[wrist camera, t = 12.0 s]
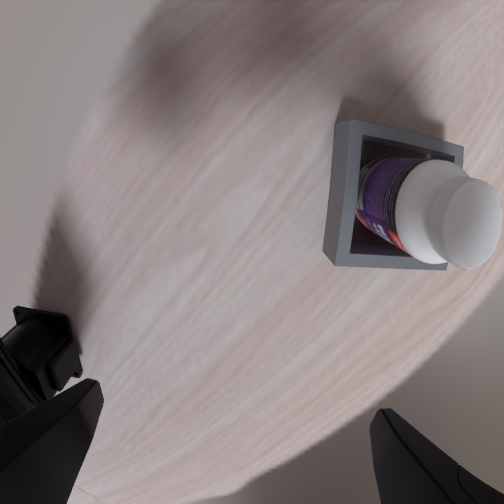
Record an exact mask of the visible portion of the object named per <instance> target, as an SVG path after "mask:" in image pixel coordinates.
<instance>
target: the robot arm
mask: <svg viewBox="0 0 504 504" xmlns="http://www.w3.org/2000/svg"><path fill="white" fill-rule="evenodd" d="M13 313H14V316H15V320H16V325H15V326H14V327H13V328H12V329H11V330H9V331H8V332H7V333H6V334H5V335H4V336H3V337H2V338H0V504H67V501H68V498H69V496H70V493H71V491H72V488H73V486H74V483H75V481H76V478H77V476H78V473H79V471H80V468H81V466H82V464H83V461H84V459H85V456H86V454H87V452H88V449H89V447H90V445H91V442H92V439H93V436H94V433H95V430H96V426H97V423H98V420H99V416H100V413H101V410H102V407H103V403H104V398H103V394H102V390H101V387H100V383H99V382H98V381H97V380H93V379H90V378H87V379H84V380H83V381H81V382H79V383H77V384H76V385H74V386H72V387H70V388H68V389H67V390H65V391H63V392H61V393H60V394H58V395H56V396H54V395H55V394H56V392H57V391H59V392H60V391H61V390H62V389H63V388H64V386H65V385H66V383H67V382H68V380H69V379H70V377H75V378H80V377H81V375H82V370H81V367H80V362H79V358H78V354H77V350H76V346H75V342H74V340H73V336H72V331H71V327H70V322H69V319H68V317H67V316H66V315H64V314H58V313H52V312H47V311H41V310H36V309H31V308H26V307H21V306H16V307H15V308H14V309H13ZM63 320H64V322H63ZM369 431H370V439H371V449H372V457H373V466H374V472H375V476H376V481H377V486H378V491H379V495H380V500H381V504H504V494H502V493H501V492H499V491H497V490H496V489H494V488H492V487H491V486H489V485H487V484H485V483H484V482H483V481H481V480H480V479H478V478H476V477H475V476H474V475H472V474H471V473H470V472H468V471H467V470H465V469H464V468H463V467H462V466H461V465H458V463H457V462H456V461H454V460H453V459H452V458H451V457H449V456H448V455H447V454H446V453H444V452H443V451H442V450H441V449H439V448H438V447H437V446H436V445H435V444H433V443H432V442H431V441H430V440H429V439H427V438H426V437H425V436H424V435H422V434H421V433H420V432H419V431H418V430H416V429H415V428H414V427H413V426H412V425H410V424H409V423H408V422H407V421H406V420H404V419H403V418H402V417H401V416H400V415H398V414H397V413H396V412H395V411H394V410H393V409H391V408H381V409H379V410H378V411H377V413H376V414H375V416H374V418H373V420H372V422H371V424H370V429H369Z"/></svg>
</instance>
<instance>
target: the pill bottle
mask: <svg viewBox="0 0 504 504" xmlns="http://www.w3.org/2000/svg"><path fill="white" fill-rule="evenodd" d="M355 213H356V215H357V217H358V218H359V220H360V221H361V223H362V224H363V225H364V226H365V227H366V228H368V229H369V230H370V231H372V232H374V233H375V234H377V235H379V236H380V237H382V238H384V239H385V240H387V241H389V242H390V243H392V244H393V245H395V246H397V247H398V248H400V249H402V250H403V251H405V252H406V253H408V254H409V255H411V256H413V257H414V258H416V259H418V260H420V261H422V262H425V263H429V264H441V263H446V262H449V263H451V264H453V265H455V266H457V267H459V268H461V269H473V268H476V267H478V266H480V265H481V264H483V263H484V262H485V261H486V260H487V259H488V258H489V257H490V256H491V254H492V253H493V251H494V250H495V248H496V246H497V243H498V241H499V238H500V234H501V230H502V221H503V214H502V207H501V203H500V200H499V197H498V195H497V193H496V191H495V190H494V189H493V188H492V186H491V185H489V184H488V183H487V182H485V181H482V180H479V179H475V178H470V177H469V175H468V174H467V173H466V172H465V171H464V170H463V169H462V168H461V167H459V166H458V165H456V164H454V163H452V162H449V161H444V160H437V159H423V158H399V157H384V158H378V159H375V160H373V161H371V162H369V163H368V164H367V165H365V166H364V167H363V168H362V169H361V171H360V172H359V182H358V192H357V201H356V209H355Z"/></svg>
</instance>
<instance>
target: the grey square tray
mask: <svg viewBox="0 0 504 504" xmlns="http://www.w3.org/2000/svg"><path fill="white" fill-rule="evenodd" d="M362 141H368V142H373V143H379V144H384V145H389V146H394V147H399V148H403V149H408V150H412V151H416V152H421V153H425V154H429V155H431V159H437V160H444V161H449V162H452V163H454V164H456V165H458V166H459V167H461V168H462V167H463V153H464V147H462V146H459V145H456V144H453V143H450V142H446V141H443V140H440V139H436V138H433V137H429V136H426V135H422V134H418V133H414V132H410V131H406V130H402V129H398V128H394V127H389V126H385V125H380V124H375V123H370V122H365V121H360V120H355V119H348V120H345V121H342V122H340V123H337V124H335V129H334V144H333V158H332V170H331V181H330V192H329V202H328V212H327V221H326V229H325V237H324V245H323V252H324V253H325V255H326V256H327V257H328V258H329V259H330V261H331V262H332V263H333V264H334V265H335V266H350V267H373V268H397V269H422V270H446V269H447V265H448V262H446V263H441V264H429V263H425V262H422V261H420V260H418V259H416V258H414V257H413V256H411V255H409V254H408V253H406V252H405V251H403V250H402V249H400V248H398V247H397V246H395V245H388V244H375V243H361V242H351V240H352V233H353V225H354V218H355V209H356V201H357V192H358V182H359V171H360V159H361V146H362Z"/></svg>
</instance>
